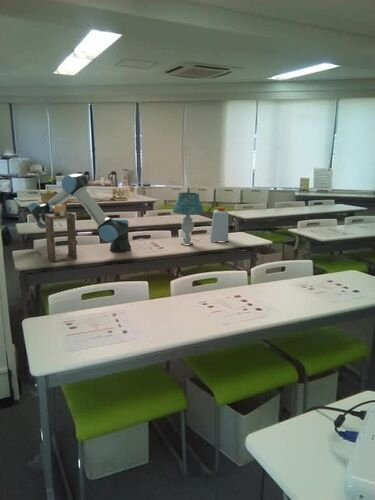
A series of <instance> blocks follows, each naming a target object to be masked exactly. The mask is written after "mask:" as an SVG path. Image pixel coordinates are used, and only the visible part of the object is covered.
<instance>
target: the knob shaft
mask: <svg viewBox="0 0 375 500" xmlns="http://www.w3.org/2000/svg"><path fill="white" fill-rule="evenodd" d="M49 207H50V206H49ZM52 212H53V213H55V215H56V216H65V215H66V212H67V205H66V204H61V205H54V206H53V209H52Z"/></svg>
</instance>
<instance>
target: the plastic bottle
mask: <svg viewBox="0 0 375 500" xmlns="http://www.w3.org/2000/svg"><path fill="white" fill-rule="evenodd" d="M210 240H211V241H228V242H229V211H228V210H226V208H225V207H223V206H218V207H217V208H216V209H215V210H213V214H212V222H211V228H210V235H209V241H210ZM211 241H210V242H211Z"/></svg>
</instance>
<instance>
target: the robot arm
mask: <svg viewBox="0 0 375 500" xmlns="http://www.w3.org/2000/svg"><path fill="white" fill-rule="evenodd" d="M89 183H90V182H89V178H88V177H87V176H86V175H85V174H83V173H73V174H70V173H69V174H66V175H65V176H63V178H62V179H61V188H62V190H60V191H59V192H58V193H57V194H55V195H54V196H53V197H51V198H50V199H49V200H47V201H46V202H44V203H40V204H39V203H38V202H37V201H33V202H31V203H30V204H28V206H27V208H28V210H29V211H30V213H31V215H32V216H33V218H34V220H35V221H36V225H37V228H39V229H41V230H44V229H45V230H46V226H45V214H52V213H53V212H52V209H53V206H54V205H63V204H64V203H65V202H67V200H69V199H70V198H72V197H73V198H76V199H77V200H78V202H79V203H80V204H81V206H82V207H83V208H84V210H85V211H86V212H87V213H88V215H89V216H90V217H91V218H92V220H93V221H94V222H95V223H96V225H97V230H98V236H99V237H100V239H101V240H103V241H104V242H109V243H110V247H109V251H111V252H114V253H127V251H128V252H131V250H132V245H131V243H130V241H129V240H130V239H129V226H130V225H129V220H128V219H125V218H110V217H108V216H107V214H105V212H104V211H103V210H102V208H101V207H100V205H98V204H97V202H96V200H94V199H95V198H93V197H92V195H91V194H90V192H88V190H87V188H88V187H89ZM49 206H50V207H49Z"/></svg>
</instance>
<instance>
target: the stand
mask: <svg viewBox="0 0 375 500" xmlns="http://www.w3.org/2000/svg"><path fill="white" fill-rule="evenodd" d="M65 219H66V231H67V233H66V234H67V250H68V251H67V252H68V253H62V254H61V253H60V254H56V242H55V229H54V226H55V225H54V221H55V220H65ZM45 226H46V228H45V238H46V248H47V249H46V252H47V253H46V254H47V259H48V260H49V261H50V262H51V263H58V262H59V263H60V262H64V261H65V262H66V261H70V260H77V259H78V256H77V255H78V254H77V235H76V234H77V233H76V215H75V214H74V213H72V212H69V211H68V212H67V211H66V215H65V216H56V215H55V213H52V214H45Z"/></svg>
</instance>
